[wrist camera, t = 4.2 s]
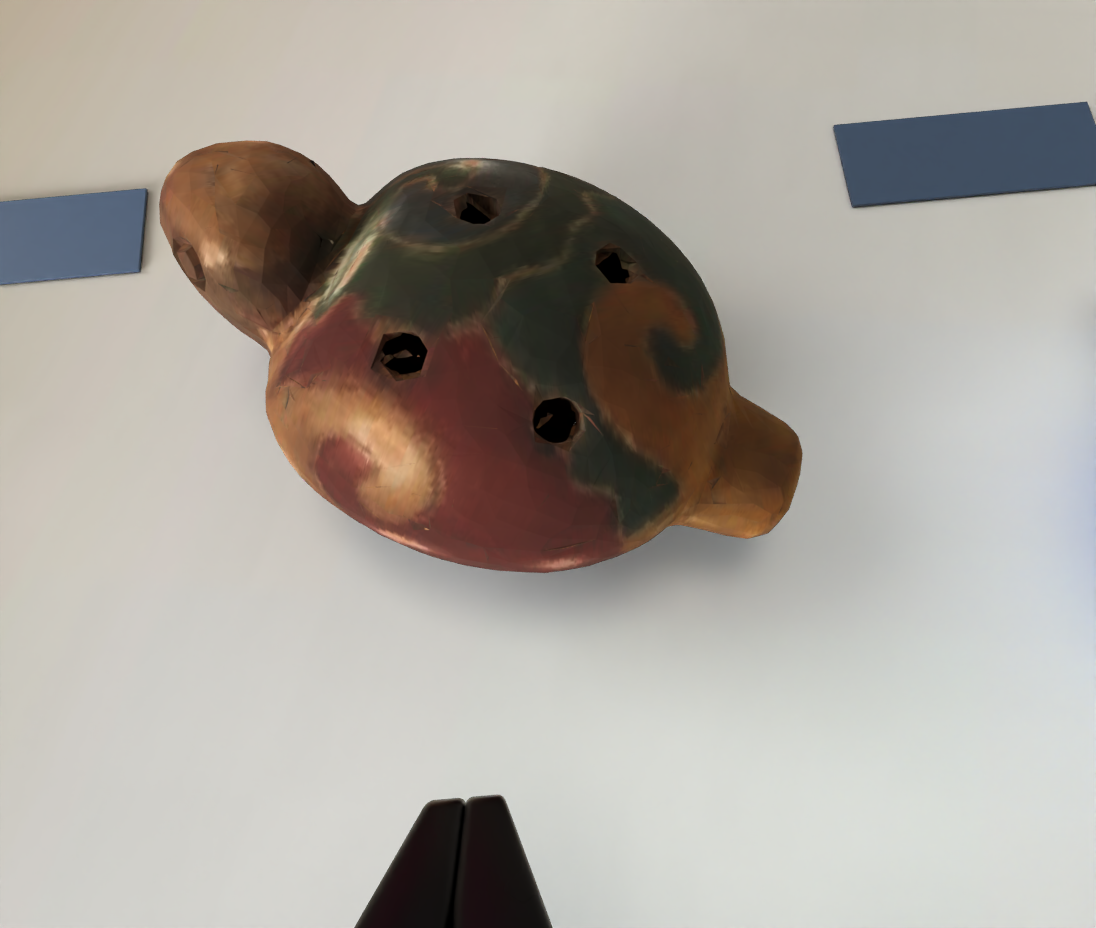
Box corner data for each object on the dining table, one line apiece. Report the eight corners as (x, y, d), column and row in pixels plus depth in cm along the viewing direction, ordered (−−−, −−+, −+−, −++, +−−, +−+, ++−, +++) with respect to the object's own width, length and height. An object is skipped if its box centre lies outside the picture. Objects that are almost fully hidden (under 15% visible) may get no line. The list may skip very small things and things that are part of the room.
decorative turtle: (317, 214, 24) (227, -23, 16) (784, 361, 23) (919, 182, 15) (170, 495, 21) (-24, 363, 13) (705, 678, 20) (825, 648, 12)
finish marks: (1113, 182, 23) (1116, 180, 23) (-116, 295, 24) (-119, 293, 24) (1085, 103, 24) (1086, 101, 24) (-99, 212, 25) (-102, 210, 24)
